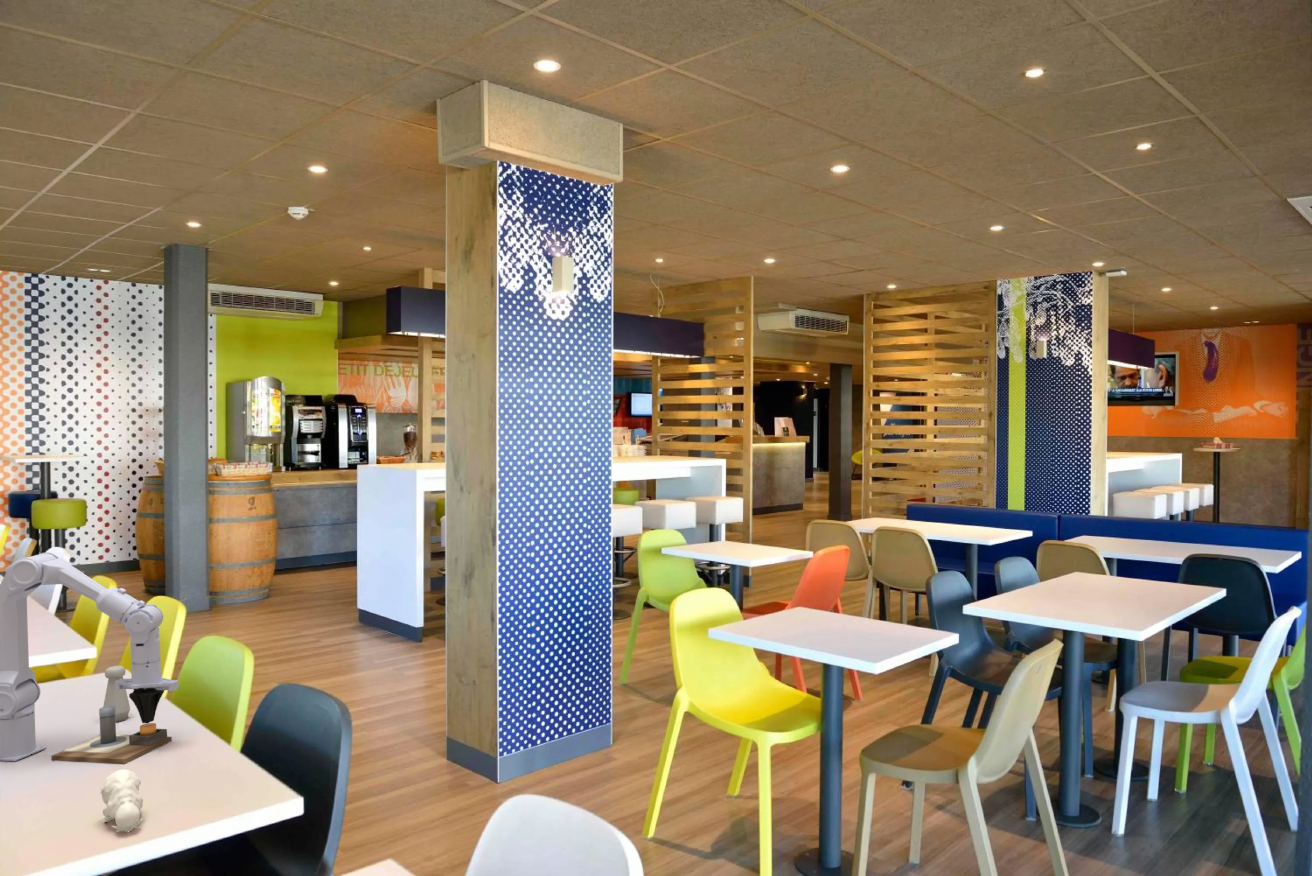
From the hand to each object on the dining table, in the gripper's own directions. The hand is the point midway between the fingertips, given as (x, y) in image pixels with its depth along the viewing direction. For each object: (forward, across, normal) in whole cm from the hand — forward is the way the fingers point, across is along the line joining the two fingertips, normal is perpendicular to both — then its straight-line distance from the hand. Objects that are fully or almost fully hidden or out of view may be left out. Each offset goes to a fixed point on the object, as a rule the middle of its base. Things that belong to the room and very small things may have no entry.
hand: (148, 721), depth 202 cm
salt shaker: (+6, -22, +16) cm, 28 cm away
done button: (+3, 0, 0) cm, 3 cm away
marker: (+4, -9, -2) cm, 10 cm away
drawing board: (+5, -6, -4) cm, 9 cm away
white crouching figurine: (+6, +26, -36) cm, 45 cm away
